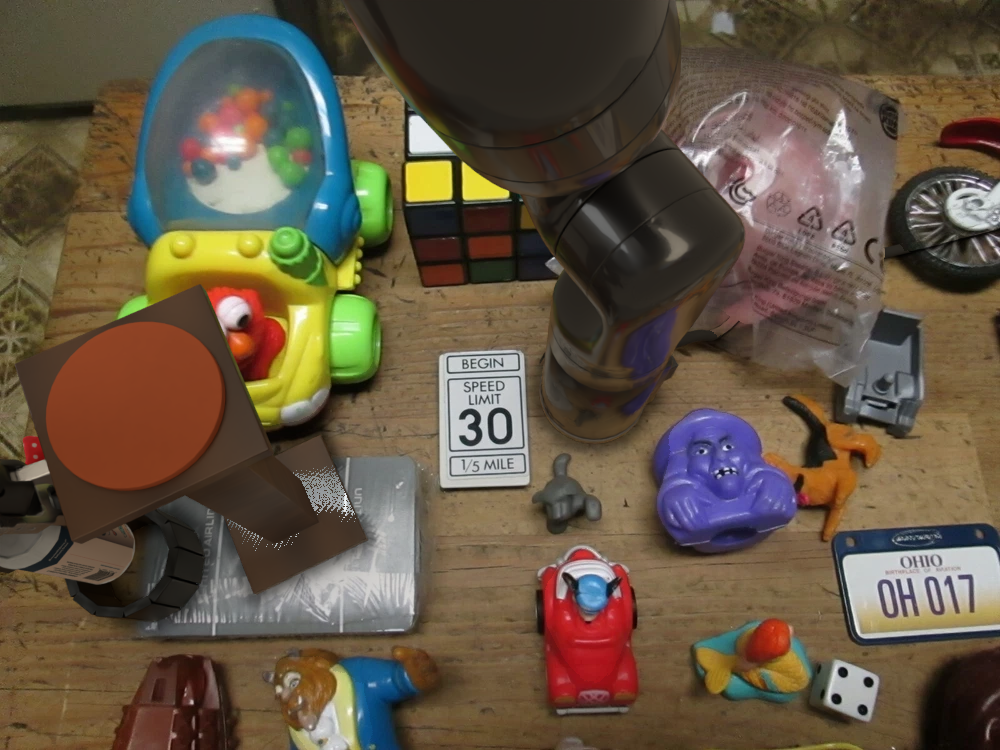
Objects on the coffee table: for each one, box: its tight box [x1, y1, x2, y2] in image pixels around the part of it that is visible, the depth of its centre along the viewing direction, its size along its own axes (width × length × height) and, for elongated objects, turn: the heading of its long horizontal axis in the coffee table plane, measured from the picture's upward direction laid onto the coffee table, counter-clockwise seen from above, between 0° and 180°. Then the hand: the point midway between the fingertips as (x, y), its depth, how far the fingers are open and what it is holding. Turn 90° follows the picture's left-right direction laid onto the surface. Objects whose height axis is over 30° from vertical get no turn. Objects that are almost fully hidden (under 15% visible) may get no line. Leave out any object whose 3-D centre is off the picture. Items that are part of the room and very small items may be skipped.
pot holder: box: [46, 322, 225, 491], centre depth 41 cm, size 9×9×1 cm
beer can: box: [0, 497, 136, 584], centre depth 55 cm, size 5×5×12 cm
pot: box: [64, 508, 206, 623], centre depth 66 cm, size 9×9×6 cm
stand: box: [14, 283, 369, 596], centre depth 56 cm, size 10×10×31 cm
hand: (53, 536), depth 54 cm, fingers closed on beer can, 4 cm apart
